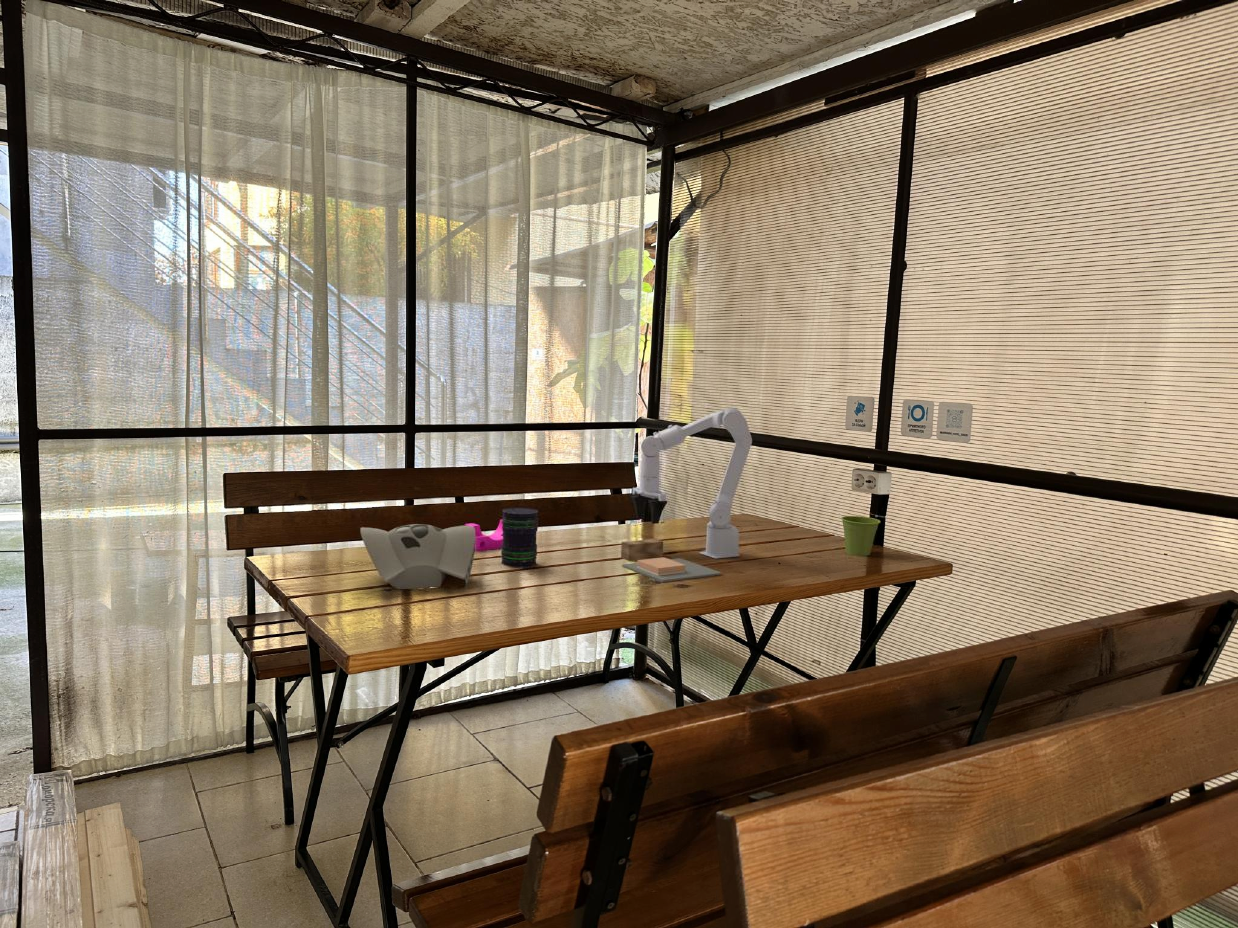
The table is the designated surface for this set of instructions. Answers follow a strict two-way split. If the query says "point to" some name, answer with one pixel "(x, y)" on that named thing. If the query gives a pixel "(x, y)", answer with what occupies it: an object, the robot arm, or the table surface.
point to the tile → (661, 566)
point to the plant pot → (859, 534)
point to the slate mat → (690, 573)
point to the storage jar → (519, 537)
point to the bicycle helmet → (422, 555)
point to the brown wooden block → (641, 549)
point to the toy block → (488, 538)
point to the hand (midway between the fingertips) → (647, 521)
